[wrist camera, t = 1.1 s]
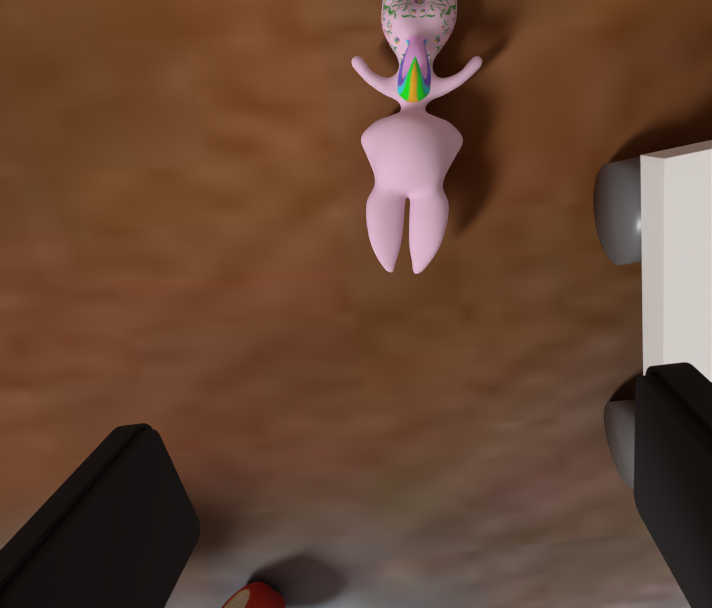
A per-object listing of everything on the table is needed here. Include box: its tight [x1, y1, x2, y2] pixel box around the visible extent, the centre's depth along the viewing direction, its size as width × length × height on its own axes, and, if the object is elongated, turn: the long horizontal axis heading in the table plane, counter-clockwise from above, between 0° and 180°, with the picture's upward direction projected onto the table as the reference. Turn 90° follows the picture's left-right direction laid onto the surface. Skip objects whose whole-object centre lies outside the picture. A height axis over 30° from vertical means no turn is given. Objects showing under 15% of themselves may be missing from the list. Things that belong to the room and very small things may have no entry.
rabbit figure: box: [352, 0, 482, 274], centre depth 22 cm, size 6×6×15 cm
